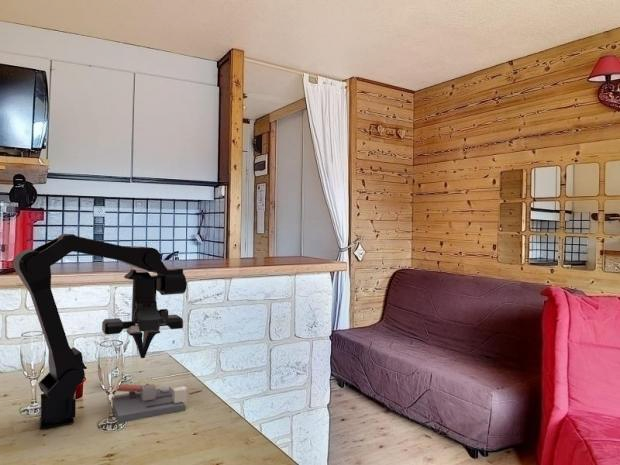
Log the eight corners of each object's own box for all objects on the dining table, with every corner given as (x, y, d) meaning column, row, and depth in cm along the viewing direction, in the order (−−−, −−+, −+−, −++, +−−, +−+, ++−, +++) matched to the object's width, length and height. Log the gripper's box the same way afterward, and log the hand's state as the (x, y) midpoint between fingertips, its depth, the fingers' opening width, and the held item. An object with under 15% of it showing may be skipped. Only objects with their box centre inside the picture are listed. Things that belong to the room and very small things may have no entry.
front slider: (174, 403, 112) (174, 391, 112) (172, 400, 114) (172, 388, 114) (186, 401, 113) (187, 389, 113) (184, 398, 115) (184, 386, 115)
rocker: (114, 391, 113) (115, 385, 113) (112, 387, 115) (113, 382, 115) (151, 392, 117) (152, 387, 117) (149, 388, 120) (150, 383, 120)
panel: (118, 422, 104) (118, 411, 104) (109, 402, 116) (109, 391, 116) (184, 410, 112) (184, 399, 112) (169, 392, 124) (170, 382, 124)
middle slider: (142, 401, 113) (143, 388, 113) (140, 397, 115) (141, 385, 115) (155, 399, 114) (155, 386, 114) (153, 395, 116) (153, 384, 116)
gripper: (109, 302, 105) (107, 371, 105) (190, 298, 115) (188, 361, 115) (102, 296, 114) (100, 359, 114) (177, 293, 124) (176, 351, 124)
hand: (142, 357), depth 117 cm, fingers closed
